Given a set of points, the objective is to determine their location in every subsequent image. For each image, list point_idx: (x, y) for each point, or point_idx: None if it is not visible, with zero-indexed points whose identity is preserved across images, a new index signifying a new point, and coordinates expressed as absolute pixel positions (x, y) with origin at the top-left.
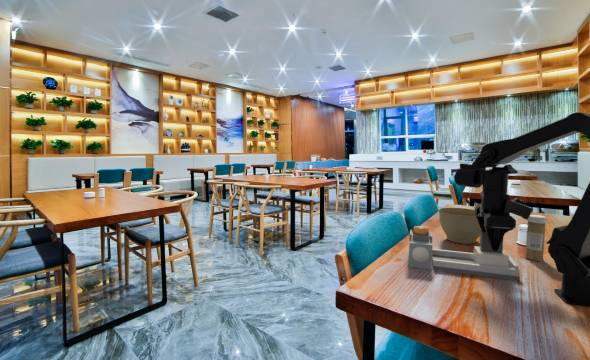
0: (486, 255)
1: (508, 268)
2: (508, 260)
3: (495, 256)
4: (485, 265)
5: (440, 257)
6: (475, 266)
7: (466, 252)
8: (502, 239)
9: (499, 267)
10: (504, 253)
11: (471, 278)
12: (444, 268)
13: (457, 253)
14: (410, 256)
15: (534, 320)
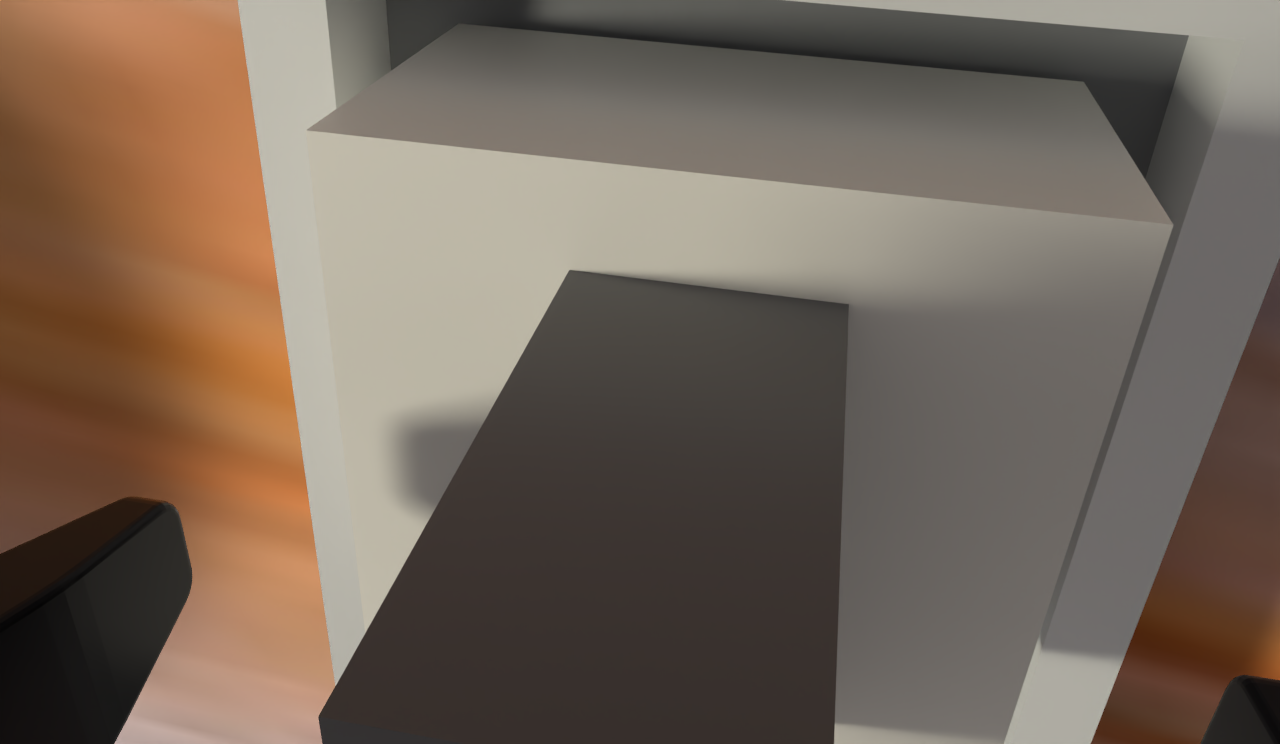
0: (1015, 668)
1: (1257, 163)
2: (1146, 185)
3: (1072, 512)
4: (1090, 561)
5: None
6: (1097, 690)
7: (333, 618)
8: (836, 651)
9: (1195, 342)
10: (834, 241)
11: (1254, 670)
12: None
13: None
14: None
15: None
